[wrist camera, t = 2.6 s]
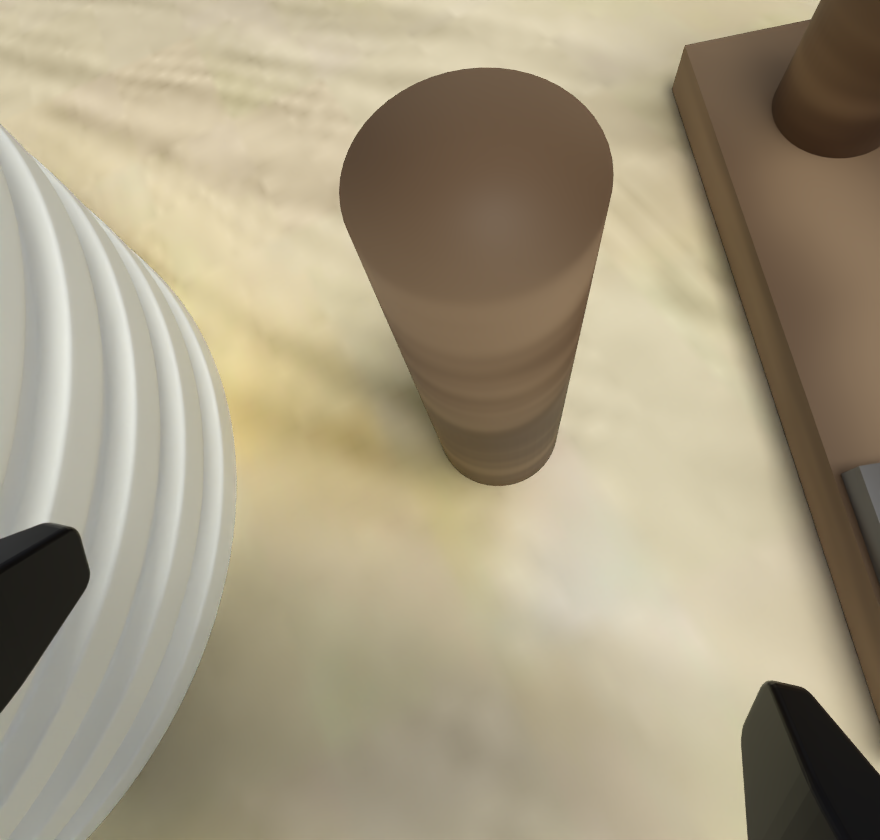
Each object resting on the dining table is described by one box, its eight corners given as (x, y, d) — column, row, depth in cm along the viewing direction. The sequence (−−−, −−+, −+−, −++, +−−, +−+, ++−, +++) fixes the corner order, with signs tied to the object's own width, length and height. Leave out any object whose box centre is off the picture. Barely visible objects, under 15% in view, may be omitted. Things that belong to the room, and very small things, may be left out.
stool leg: (547, 495, 21) (592, 317, 8) (429, 474, 21) (308, 279, 9) (565, 383, 22) (630, 76, 9) (452, 365, 22) (374, 59, 10)
